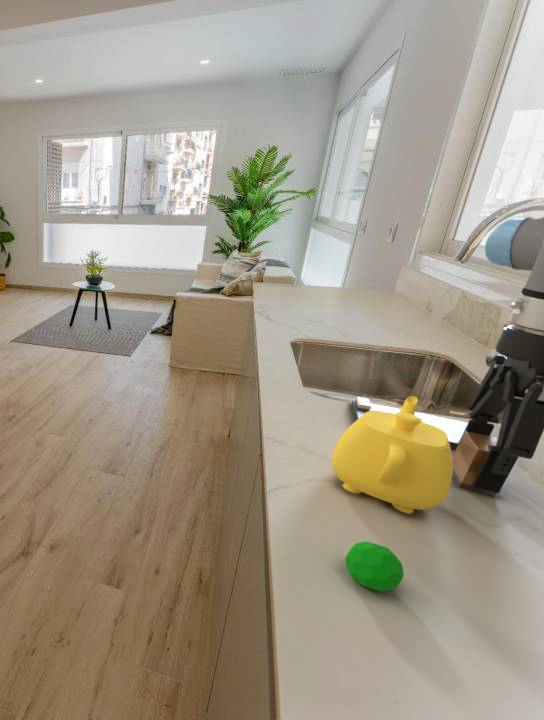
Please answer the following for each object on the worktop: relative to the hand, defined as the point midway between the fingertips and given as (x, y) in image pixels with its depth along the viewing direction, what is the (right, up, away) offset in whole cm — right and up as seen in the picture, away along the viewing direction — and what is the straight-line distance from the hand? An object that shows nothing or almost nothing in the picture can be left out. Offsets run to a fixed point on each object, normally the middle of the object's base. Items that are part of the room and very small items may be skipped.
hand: (474, 472), depth 65 cm
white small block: (+5, +5, +14) cm, 16 cm away
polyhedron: (-30, -8, -17) cm, 35 cm away
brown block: (0, -2, +1) cm, 2 cm away
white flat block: (-1, +8, +21) cm, 23 cm away
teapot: (-15, -2, -1) cm, 16 cm away
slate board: (+5, +4, +15) cm, 16 cm away
